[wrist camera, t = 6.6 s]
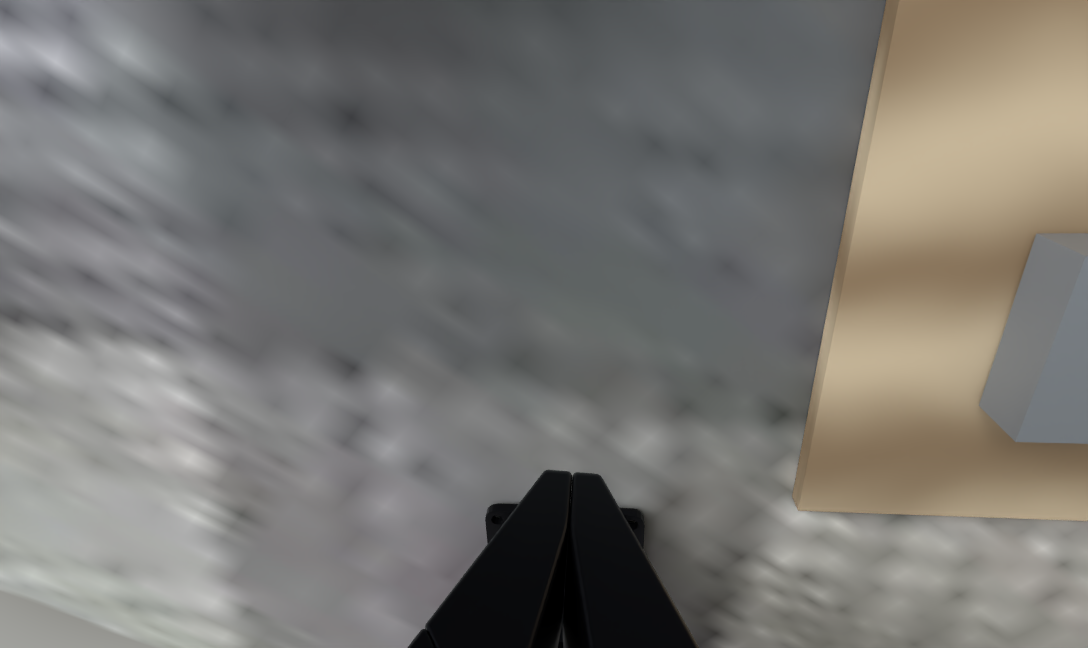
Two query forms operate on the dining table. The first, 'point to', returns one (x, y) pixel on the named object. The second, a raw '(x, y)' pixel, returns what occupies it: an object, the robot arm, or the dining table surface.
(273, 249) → the dining table surface
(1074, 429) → the block
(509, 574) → the robot arm
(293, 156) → the dining table surface
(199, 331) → the dining table surface
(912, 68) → the board
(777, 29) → the dining table surface
